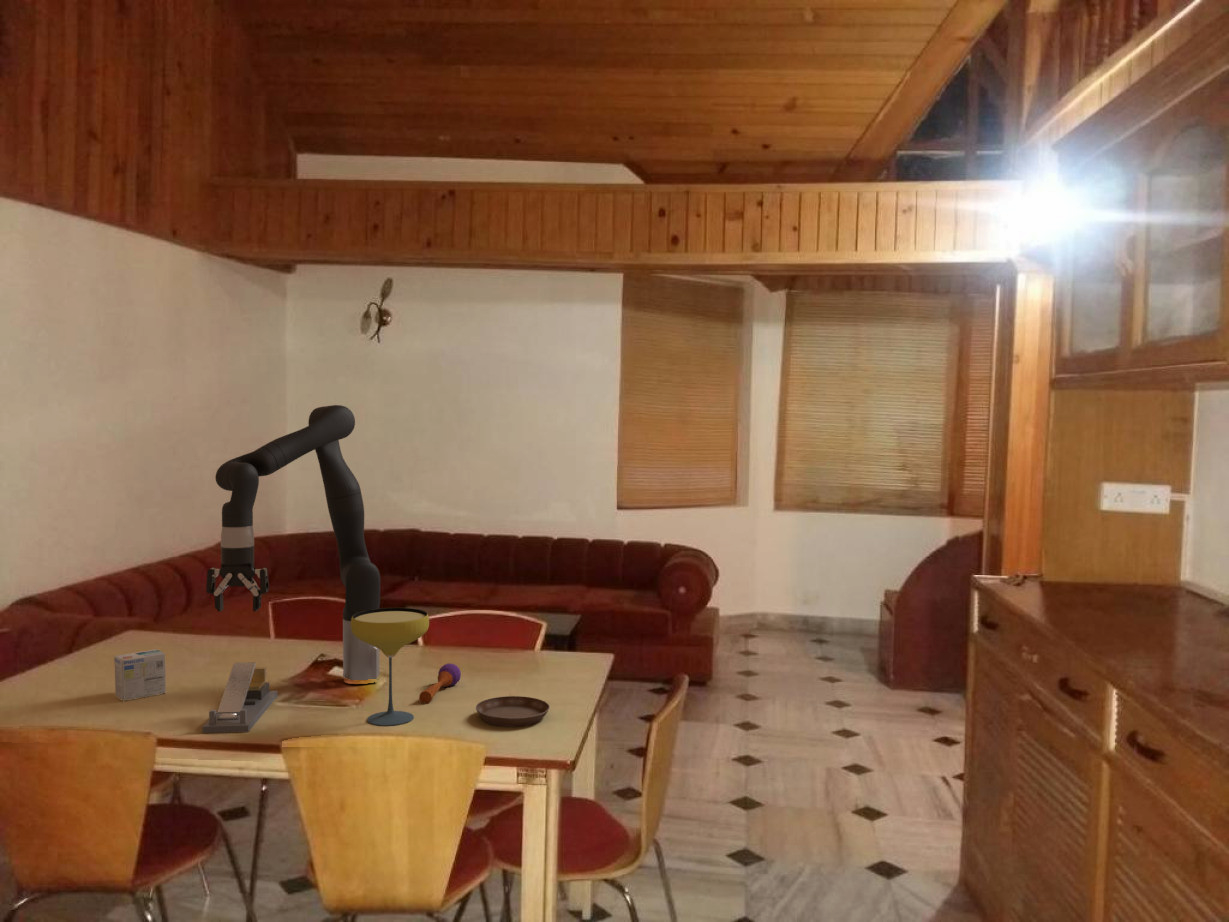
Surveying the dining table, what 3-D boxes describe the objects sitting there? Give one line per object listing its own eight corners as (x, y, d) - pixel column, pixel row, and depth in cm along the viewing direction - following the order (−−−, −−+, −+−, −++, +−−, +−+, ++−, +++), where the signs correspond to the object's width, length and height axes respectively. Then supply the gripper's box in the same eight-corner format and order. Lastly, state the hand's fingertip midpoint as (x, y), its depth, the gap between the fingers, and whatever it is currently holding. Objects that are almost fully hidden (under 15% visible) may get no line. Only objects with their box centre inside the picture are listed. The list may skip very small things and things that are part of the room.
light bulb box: (157, 688, 255) (156, 648, 255) (166, 694, 250) (166, 652, 250) (113, 696, 248) (113, 654, 247) (122, 702, 243) (122, 659, 242)
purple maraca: (412, 687, 245) (441, 661, 264) (417, 710, 245) (445, 682, 265) (434, 684, 244) (461, 659, 263) (438, 707, 244) (465, 680, 264)
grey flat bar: (238, 721, 222) (237, 716, 222) (216, 722, 222) (215, 717, 221) (255, 666, 237) (255, 661, 236) (234, 666, 237) (233, 661, 236)
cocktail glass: (364, 706, 241) (363, 606, 240) (436, 708, 240) (436, 608, 239) (341, 730, 223) (340, 622, 222) (419, 731, 222) (419, 623, 221)
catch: (259, 690, 241) (259, 674, 240) (238, 690, 240) (238, 674, 240) (266, 682, 247) (266, 667, 247) (245, 683, 247) (245, 667, 247)
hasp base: (248, 731, 221) (248, 712, 221) (202, 733, 220) (202, 713, 220) (277, 696, 249) (277, 679, 249) (237, 697, 248) (236, 679, 248)
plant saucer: (550, 707, 243) (550, 695, 243) (548, 730, 225) (548, 717, 225) (479, 707, 242) (479, 695, 242) (471, 730, 224) (471, 717, 224)
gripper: (272, 542, 239) (272, 608, 240) (213, 542, 239) (214, 607, 239) (262, 546, 232) (262, 614, 232) (201, 546, 231) (202, 613, 232)
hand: (238, 610), depth 236 cm, fingers open, 8 cm apart
